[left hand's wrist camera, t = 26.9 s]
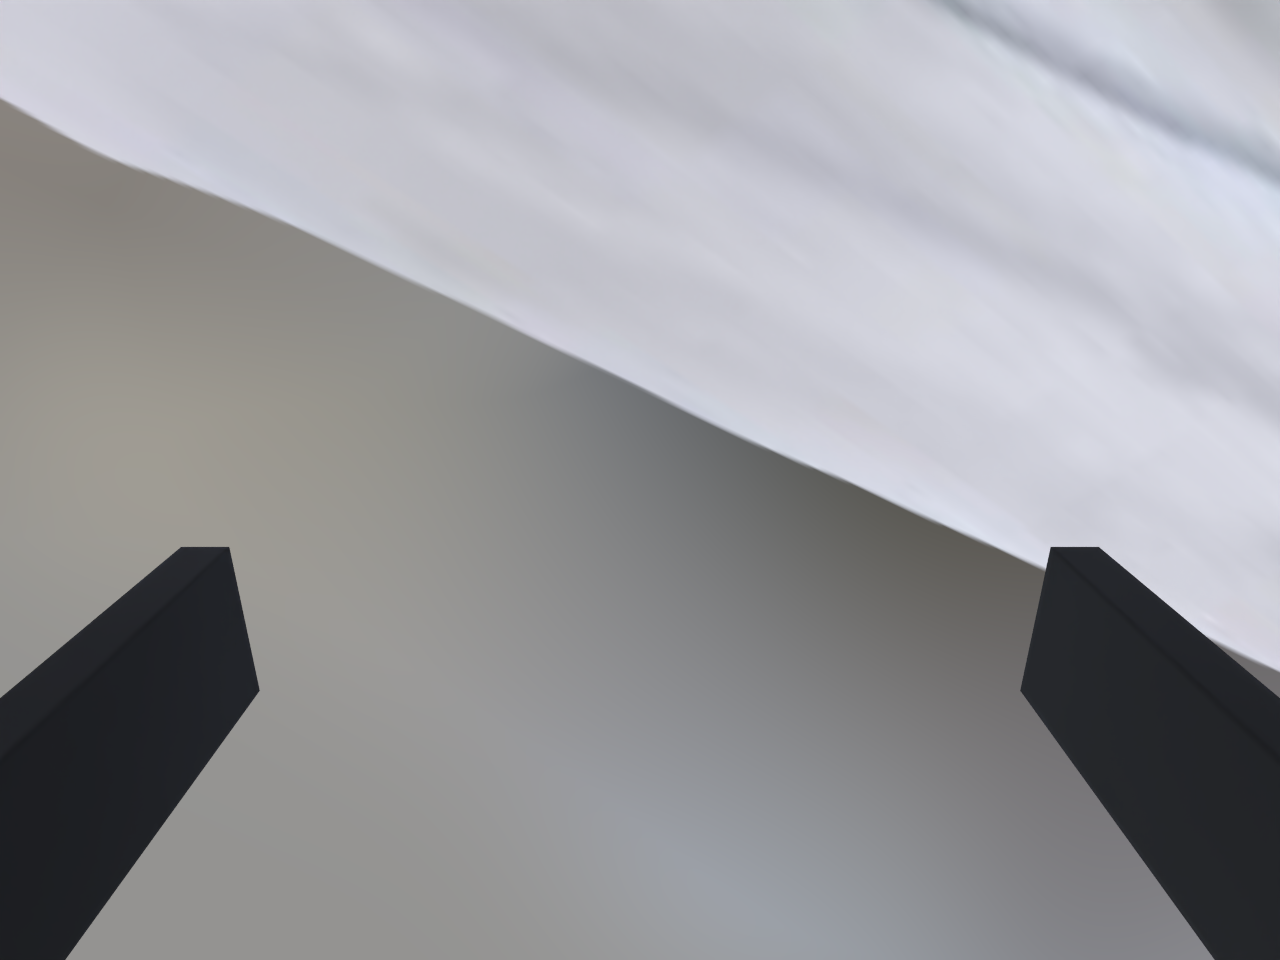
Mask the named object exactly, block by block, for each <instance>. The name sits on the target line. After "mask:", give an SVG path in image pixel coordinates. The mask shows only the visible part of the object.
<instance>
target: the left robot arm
mask: <svg viewBox="0 0 1280 960" xmlns="http://www.w3.org/2000/svg"><path fill="white" fill-rule="evenodd" d="M1020 691H1021V692H1022V694H1023V695H1024V696H1025V698H1026V699H1027V700H1028V702H1029V703H1030V705H1031V706H1032V707H1033V709H1034V710H1035V712H1036V713H1037V714H1038V716H1039V717H1040V718H1041V720H1042V721H1043V723H1044V724H1045V725H1046V727H1047V728H1048V730H1049V731H1050V732H1051V734H1052V735H1053V736H1054V738H1055V739H1056V741H1057V742H1058V743H1059V745H1060V746H1061V748H1062V749H1063V750H1064V752H1065V753H1066V754H1067V756H1068V757H1069V759H1070V760H1071V761H1072V763H1073V764H1074V766H1075V767H1076V768H1077V770H1078V771H1079V772H1080V774H1081V775H1082V777H1083V778H1084V779H1085V781H1086V782H1087V784H1088V785H1089V786H1090V788H1091V789H1092V790H1093V792H1094V793H1095V795H1096V796H1097V797H1098V799H1099V800H1100V802H1101V803H1102V804H1103V806H1104V807H1105V808H1106V810H1107V811H1108V813H1109V814H1110V815H1111V817H1112V818H1113V820H1114V821H1115V822H1116V824H1117V825H1118V826H1119V828H1120V829H1121V831H1122V832H1123V833H1124V835H1125V836H1126V838H1127V839H1128V840H1129V842H1130V843H1131V844H1132V846H1133V847H1134V849H1135V850H1136V851H1137V853H1138V854H1139V856H1140V857H1141V858H1142V860H1143V861H1144V862H1145V864H1146V865H1147V867H1148V868H1149V869H1150V871H1151V872H1152V874H1153V875H1154V876H1155V878H1156V879H1157V880H1158V882H1159V883H1160V885H1161V886H1162V887H1163V889H1164V890H1165V892H1166V893H1167V894H1168V896H1169V897H1170V898H1171V900H1172V901H1173V903H1174V904H1175V905H1176V907H1177V908H1178V910H1179V911H1180V912H1181V914H1182V915H1183V916H1184V918H1185V919H1186V921H1187V922H1188V923H1189V925H1190V926H1191V927H1192V929H1193V930H1194V932H1195V933H1196V934H1197V936H1198V937H1199V939H1200V940H1201V941H1202V943H1203V944H1204V946H1205V947H1206V948H1207V950H1208V951H1209V952H1210V954H1211V955H1212V957H1213V958H1214V959H1215V960H1280V698H1279V697H1278V696H1277V695H1275V694H1274V693H1273V692H1272V691H1270V690H1269V689H1268V688H1267V687H1266V686H1264V685H1263V684H1262V683H1261V682H1260V681H1259V680H1257V679H1256V678H1255V677H1254V676H1253V675H1251V674H1250V673H1249V672H1248V671H1247V670H1245V669H1244V668H1243V667H1242V666H1241V665H1239V664H1238V663H1237V662H1236V661H1235V660H1233V659H1232V658H1231V657H1230V656H1229V655H1227V654H1226V653H1225V652H1224V651H1223V650H1221V649H1220V648H1219V647H1218V646H1217V645H1215V644H1214V643H1213V642H1212V641H1211V640H1209V639H1208V638H1207V637H1206V636H1205V635H1203V634H1202V633H1201V632H1200V631H1199V630H1197V629H1196V628H1195V627H1194V626H1193V625H1191V624H1190V623H1189V622H1188V621H1187V620H1186V619H1184V618H1183V617H1182V616H1181V615H1180V614H1178V613H1177V612H1176V611H1175V610H1174V609H1172V608H1171V607H1170V606H1169V605H1168V604H1166V603H1165V602H1164V601H1163V600H1162V599H1160V598H1159V597H1158V596H1157V595H1156V594H1154V593H1153V592H1152V591H1151V590H1150V589H1148V588H1147V587H1146V586H1145V585H1144V584H1142V583H1141V582H1140V581H1139V580H1138V579H1136V578H1135V577H1134V576H1133V575H1132V574H1130V573H1129V572H1128V571H1127V570H1126V569H1124V568H1123V567H1122V566H1121V565H1120V564H1118V563H1117V562H1116V561H1115V560H1114V559H1112V558H1111V557H1110V556H1109V555H1108V554H1106V553H1105V552H1104V551H1103V550H1102V549H1100V548H1099V547H1051V549H1050V553H1049V558H1048V563H1047V567H1046V572H1045V577H1044V582H1043V586H1042V591H1041V596H1040V601H1039V605H1038V610H1037V615H1036V620H1035V624H1034V629H1033V634H1032V638H1031V643H1030V648H1029V653H1028V657H1027V662H1026V667H1025V671H1024V676H1023V681H1022V685H1021V690H1020ZM258 692H259V686H258V681H257V676H256V671H255V667H254V662H253V657H252V653H251V648H250V643H249V638H248V634H247V629H246V624H245V620H244V615H243V610H242V605H241V600H240V596H239V591H238V586H237V582H236V577H235V572H234V567H233V563H232V558H231V553H230V549H229V547H181V548H180V549H178V550H177V551H176V552H175V553H174V554H172V555H171V556H170V557H169V558H168V559H166V560H165V561H164V562H163V563H162V564H160V565H159V566H158V567H157V568H156V569H154V570H153V571H152V572H151V573H150V574H148V575H147V576H146V577H145V578H144V579H143V580H141V581H140V582H139V583H138V584H136V585H135V586H134V587H133V588H132V589H130V590H129V591H128V592H127V593H126V594H124V595H123V596H122V597H121V598H120V599H118V600H117V601H116V602H115V603H114V604H112V605H111V606H110V607H109V608H108V609H107V610H105V611H104V612H103V613H102V614H100V615H99V616H98V617H97V618H96V619H94V620H93V621H92V622H91V623H90V624H89V625H87V626H86V627H85V628H84V629H83V630H81V631H80V632H79V633H78V634H77V635H75V636H74V637H73V638H72V639H71V640H69V641H68V642H67V643H66V644H65V645H63V646H62V647H61V648H60V649H59V650H57V651H56V652H55V653H54V654H53V655H51V656H50V657H49V658H48V659H47V660H45V661H44V662H43V663H42V664H41V665H39V666H38V667H37V668H36V669H35V670H34V671H32V672H31V673H30V674H29V675H27V676H26V677H25V678H24V679H23V680H21V681H20V682H19V683H18V684H17V685H15V686H14V687H13V688H12V689H11V690H9V691H8V692H7V693H6V694H5V695H3V696H2V697H1V698H0V960H65V959H66V958H67V957H68V955H69V954H70V952H71V951H72V950H73V948H74V947H75V946H76V944H77V943H78V941H79V940H80V939H81V937H82V936H83V934H84V933H85V932H86V930H87V929H88V928H89V926H90V925H91V923H92V922H93V921H94V919H95V918H96V916H97V915H98V914H99V912H100V911H101V910H102V908H103V907H104V905H105V904H106V903H107V901H108V900H109V898H110V897H111V896H112V894H113V893H114V892H115V890H116V889H117V887H118V886H119V884H120V883H121V882H122V880H123V879H124V878H125V876H126V875H127V874H128V872H129V871H130V869H131V868H132V867H133V865H134V864H135V862H136V861H137V860H138V858H139V857H140V856H141V854H142V853H143V851H144V850H145V849H146V847H147V846H148V844H149V843H150V842H151V840H152V839H153V838H154V836H155V835H156V833H157V832H158V831H159V829H160V828H161V826H162V825H163V824H164V822H165V821H166V819H167V818H168V817H169V815H170V814H171V813H172V811H173V810H174V808H175V807H176V806H177V804H178V803H179V801H180V800H181V799H182V797H183V796H184V795H185V793H186V792H187V790H188V789H189V788H190V786H191V785H192V784H193V782H194V781H195V779H196V778H197V777H198V775H199V774H200V772H201V771H202V770H203V768H204V767H205V765H206V764H207V763H208V761H209V760H210V759H211V757H212V756H213V754H214V753H215V752H216V750H217V749H218V748H219V746H220V745H221V743H222V742H223V741H224V739H225V738H226V736H227V735H228V734H229V732H230V731H231V730H232V728H233V727H234V725H235V724H236V723H237V721H238V720H239V718H240V717H241V716H242V714H243V713H244V712H245V710H246V709H247V707H248V706H249V705H250V703H251V702H252V700H253V699H254V698H255V696H256V695H257V693H258Z"/></svg>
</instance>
